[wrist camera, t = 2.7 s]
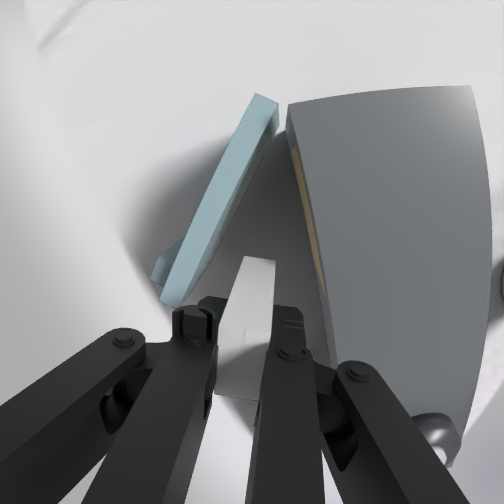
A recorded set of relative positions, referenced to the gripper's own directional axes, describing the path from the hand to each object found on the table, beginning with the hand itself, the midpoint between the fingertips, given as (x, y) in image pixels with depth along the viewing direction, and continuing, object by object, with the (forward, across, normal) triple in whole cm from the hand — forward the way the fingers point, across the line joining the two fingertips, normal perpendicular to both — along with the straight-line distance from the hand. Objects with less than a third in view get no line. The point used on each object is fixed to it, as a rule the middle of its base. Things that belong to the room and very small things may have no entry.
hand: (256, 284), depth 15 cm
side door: (+6, +3, -4) cm, 8 cm away
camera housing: (+7, -8, +2) cm, 11 cm away
